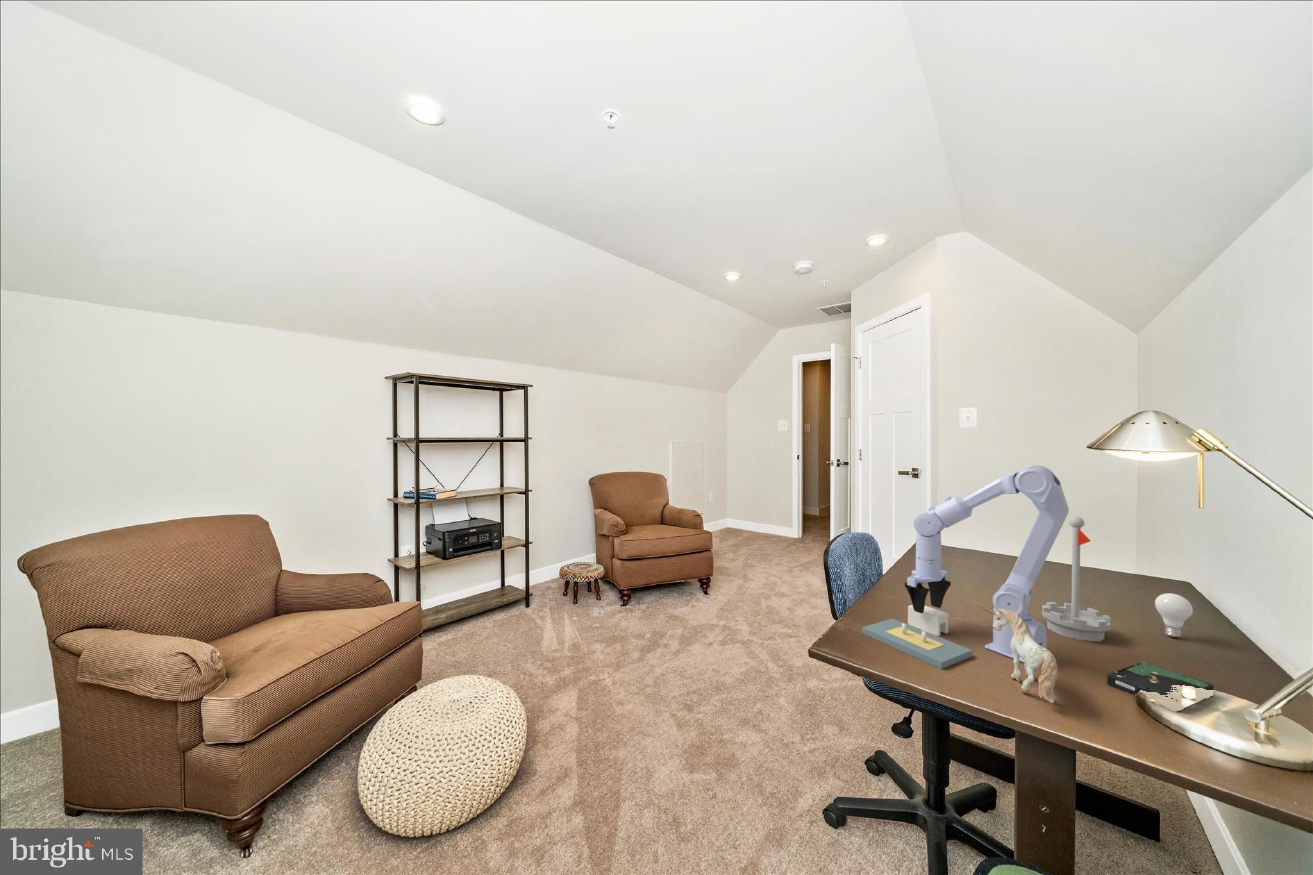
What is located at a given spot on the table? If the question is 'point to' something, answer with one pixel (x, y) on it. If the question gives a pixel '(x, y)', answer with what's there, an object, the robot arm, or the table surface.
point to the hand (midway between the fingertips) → (927, 609)
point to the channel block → (928, 620)
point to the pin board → (917, 643)
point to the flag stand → (1076, 601)
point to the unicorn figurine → (1028, 654)
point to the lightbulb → (1173, 612)
